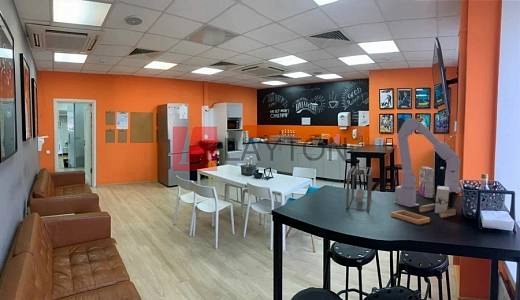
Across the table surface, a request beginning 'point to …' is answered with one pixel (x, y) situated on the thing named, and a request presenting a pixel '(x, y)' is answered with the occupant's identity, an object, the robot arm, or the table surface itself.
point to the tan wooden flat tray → (410, 217)
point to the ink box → (441, 199)
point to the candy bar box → (426, 182)
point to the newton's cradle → (360, 192)
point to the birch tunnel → (442, 213)
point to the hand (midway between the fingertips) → (449, 207)
